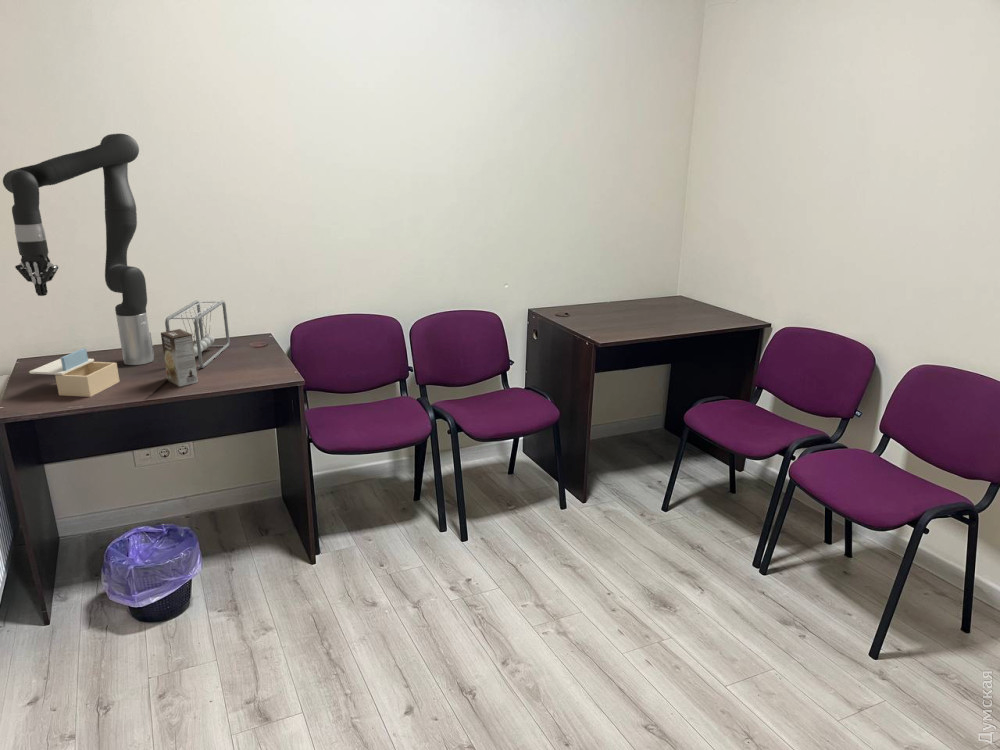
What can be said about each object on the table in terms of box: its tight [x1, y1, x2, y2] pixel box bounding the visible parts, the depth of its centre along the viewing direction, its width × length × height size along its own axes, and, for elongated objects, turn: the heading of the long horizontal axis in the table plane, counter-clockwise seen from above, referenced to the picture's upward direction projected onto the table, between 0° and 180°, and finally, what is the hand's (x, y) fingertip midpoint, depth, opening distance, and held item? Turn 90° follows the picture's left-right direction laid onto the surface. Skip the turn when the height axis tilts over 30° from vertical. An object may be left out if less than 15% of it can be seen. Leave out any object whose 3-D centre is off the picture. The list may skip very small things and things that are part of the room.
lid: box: [28, 347, 95, 376], centre depth 213 cm, size 14×10×5 cm
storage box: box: [54, 361, 121, 398], centre depth 214 cm, size 14×10×7 cm
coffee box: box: [160, 328, 199, 388], centre depth 222 cm, size 9×6×16 cm
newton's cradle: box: [164, 300, 231, 369], centre depth 248 cm, size 30×10×18 cm, turn 3°
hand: (42, 295), depth 218 cm, fingers closed
